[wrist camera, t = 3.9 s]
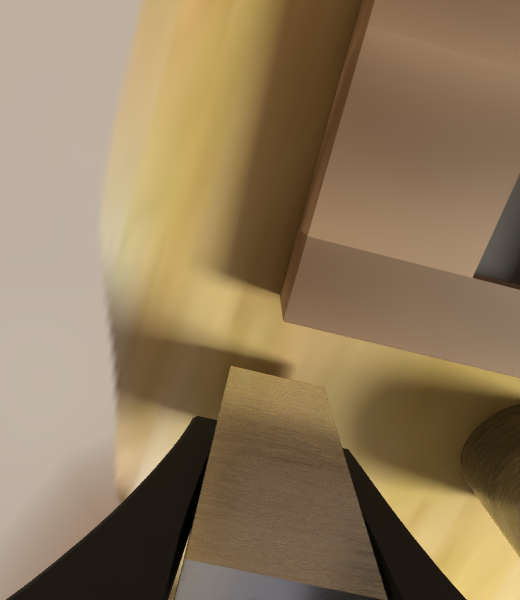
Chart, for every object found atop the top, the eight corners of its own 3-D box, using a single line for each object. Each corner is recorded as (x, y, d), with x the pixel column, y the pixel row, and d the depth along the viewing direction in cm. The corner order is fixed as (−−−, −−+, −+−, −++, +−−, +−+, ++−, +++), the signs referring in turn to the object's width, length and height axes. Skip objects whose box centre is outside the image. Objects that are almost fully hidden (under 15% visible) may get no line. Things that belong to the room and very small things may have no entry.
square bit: (297, 462, 12) (326, 715, 6) (211, 443, 11) (153, 684, 6) (323, 387, 11) (388, 601, 5) (230, 365, 11) (184, 559, 5)
